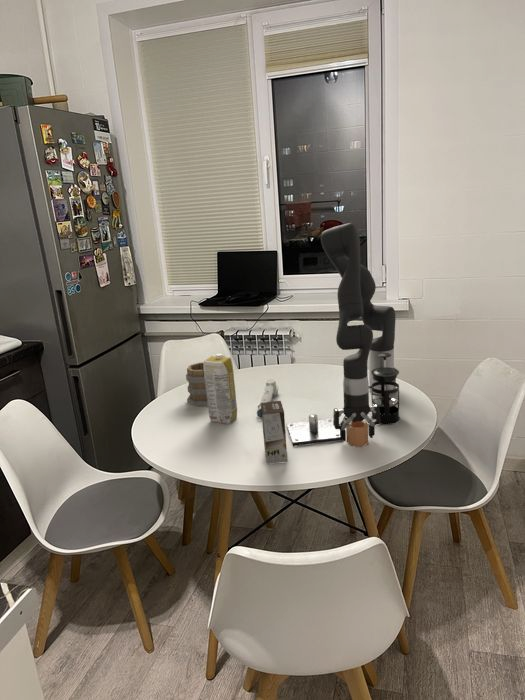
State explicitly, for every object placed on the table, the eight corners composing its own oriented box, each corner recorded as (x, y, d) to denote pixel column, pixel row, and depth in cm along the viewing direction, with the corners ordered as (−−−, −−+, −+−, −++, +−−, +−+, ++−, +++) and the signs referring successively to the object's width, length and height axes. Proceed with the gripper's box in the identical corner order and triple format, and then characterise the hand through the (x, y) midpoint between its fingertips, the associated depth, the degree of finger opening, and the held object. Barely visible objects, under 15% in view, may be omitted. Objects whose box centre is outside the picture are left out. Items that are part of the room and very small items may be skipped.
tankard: (199, 408, 197) (195, 371, 192) (182, 400, 206) (177, 364, 202) (241, 393, 208) (238, 358, 204) (223, 386, 218) (220, 352, 213)
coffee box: (288, 462, 153) (284, 412, 148) (266, 464, 152) (262, 414, 148) (284, 447, 162) (281, 400, 157) (264, 450, 161) (259, 402, 157)
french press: (399, 412, 180) (399, 349, 173) (403, 424, 171) (403, 357, 164) (365, 413, 181) (363, 350, 174) (367, 425, 172) (365, 359, 166)
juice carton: (240, 416, 187) (234, 352, 180) (230, 425, 180) (223, 360, 173) (217, 413, 191) (211, 351, 184) (206, 422, 184) (199, 358, 177)
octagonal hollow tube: (364, 436, 165) (364, 417, 163) (370, 445, 159) (369, 425, 157) (344, 438, 164) (343, 419, 162) (349, 447, 158) (348, 427, 157)
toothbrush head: (254, 408, 183) (265, 375, 206) (256, 424, 186) (266, 390, 209) (268, 408, 183) (278, 375, 205) (270, 424, 185) (279, 389, 208)
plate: (333, 421, 177) (332, 404, 175) (343, 440, 163) (342, 422, 161) (286, 427, 176) (285, 410, 174) (292, 446, 162) (291, 427, 160)
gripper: (375, 382, 161) (376, 430, 165) (330, 387, 160) (332, 435, 164) (383, 391, 154) (383, 441, 158) (335, 396, 153) (337, 446, 157)
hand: (357, 438), depth 161 cm, fingers open, 8 cm apart
